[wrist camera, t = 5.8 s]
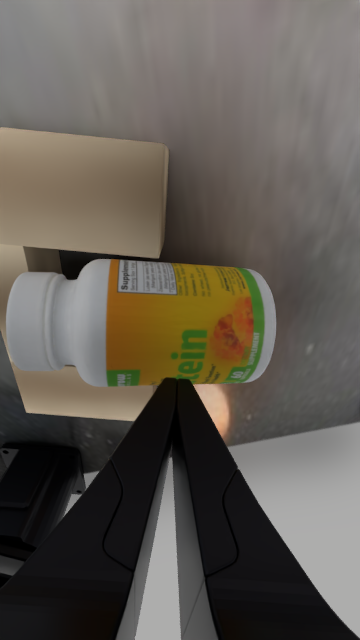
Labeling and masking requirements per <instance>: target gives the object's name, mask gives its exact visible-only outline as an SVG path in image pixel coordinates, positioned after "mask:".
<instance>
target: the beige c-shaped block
mask: <svg viewBox="0 0 360 640" xmlns="http://www.w3.org/2000/svg"><path fill="white" fill-rule="evenodd" d="M168 165H169V149H168V148H167V147H166V146H165V145H164V143H154V142H144V141H134V140H124V139H114V138H104V137H94V136H84V135H74V134H64V133H54V132H44V131H34V130H24V129H14V128H4V127H0V330H1V333H2V336H3V340H4V343H5V346H6V349H7V352H8V356H9V359H10V362H11V365H12V368H13V372H14V375H15V378H16V381H17V384H18V388H19V391H20V394H21V397H22V400H23V403H24V407H25V410H26V413H38V414H50V415H63V416H76V417H88V418H101V419H113V420H126V421H135V420H136V418H137V417H138V415H139V414H140V412H141V411H142V410H143V408H144V407H145V405H146V404H147V402H148V401H149V399H150V398H151V396H152V395H153V394H154V392H155V391H156V387H157V385H147V386H118V387H97V386H92V385H90V384H88V383H86V382H85V381H84V380H83V379H82V378H81V377H80V375H79V373H78V371H77V368H76V366H74V365H65V366H64V367H63V369H61V370H54V371H23V370H20V369H19V368H18V367H17V366H16V365H15V364H14V362H13V361H12V358H11V356H10V353H9V348H8V344H7V336H6V312H7V304H8V299H9V295H10V291H11V288H12V286H13V284H14V282H15V280H16V279H17V277H18V276H19V275H20V274H22V273H25V272H55V273H57V274H62V269H61V262H60V256H59V249H60V250H71V251H82V252H92V253H103V254H114V255H125V256H136V257H147V258H158V259H159V256H160V253H161V250H162V247H163V244H164V239H165V221H166V202H167V183H168Z"/></svg>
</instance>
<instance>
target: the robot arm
mask: <svg viewBox="0 0 360 640" xmlns="http://www.w3.org/2000/svg"><path fill="white" fill-rule="evenodd" d="M171 446H172V460H173V481H174V500H175V522H176V543H177V563H178V584H179V604H180V626H181V640H360V638H359V637H358V636H357V635H356V634H355V633H353V632H352V631H351V630H350V629H349V628H348V627H347V625H345V624H344V622H343V621H342V620H341V619H340V618H339V617H338V616H337V615H336V613H335V612H334V611H333V610H332V609H331V608H330V606H329V605H328V604H327V602H326V601H325V600H324V599H323V597H322V596H321V595H320V593H319V592H318V590H317V589H316V588H315V586H314V585H313V583H312V582H311V580H310V579H309V578H308V576H307V575H306V573H305V572H304V570H303V569H302V567H301V566H300V564H299V563H298V561H297V560H296V558H295V557H294V555H293V554H292V552H291V551H290V550H289V548H288V547H287V545H286V544H285V542H284V541H283V539H282V538H281V536H280V535H279V533H278V532H277V530H276V529H275V528H274V526H273V525H272V523H271V521H270V520H269V518H268V517H267V515H266V514H265V512H264V511H263V509H262V508H261V506H260V505H259V503H258V501H257V500H256V498H255V496H254V495H253V493H252V491H251V489H250V488H249V486H248V484H247V483H246V481H245V479H244V477H243V475H242V473H241V472H240V470H239V469H238V466H237V464H236V463H235V461H234V459H233V457H232V455H231V454H230V452H229V450H228V448H227V446H226V444H225V443H224V441H223V439H222V437H221V435H220V433H219V432H218V430H217V428H216V426H215V424H214V422H213V421H212V419H211V417H210V415H209V413H208V411H207V410H206V408H205V406H204V404H203V402H202V400H201V399H200V397H199V395H198V393H197V391H196V390H195V388H194V386H193V384H192V382H191V381H190V380H189V379H184V378H179V379H178V380H177V379H176V378H172V377H165V378H164V379H163V381H162V382H161V383H160V385H159V386H158V388H157V389H156V391H155V392H154V394H153V395H152V396H151V398H150V399H149V401H148V402H147V404H146V405H145V407H144V408H143V410H142V411H141V412H140V414H139V415H138V417H137V418H136V420H135V421H134V423H133V424H132V425H131V427H130V428H129V430H128V431H127V433H126V434H125V436H124V437H123V439H122V440H121V441H120V443H119V444H118V446H117V447H116V449H115V450H114V452H113V453H112V454H111V456H110V459H108V460H107V462H106V463H105V464H104V466H103V467H102V469H101V470H100V472H99V473H98V474H97V476H96V477H95V479H94V480H93V481H92V483H91V484H90V485H89V487H88V488H87V489H86V486H85V480H84V475H83V469H82V464H81V458H80V453H79V451H77V450H75V449H66V448H53V447H40V446H27V445H14V444H4V445H3V446H2V447H1V449H0V453H1V456H2V458H3V460H4V462H5V465H6V467H7V470H6V471H5V473H4V475H3V476H2V478H1V480H0V640H135V635H136V630H137V625H138V619H139V615H140V609H141V604H142V599H143V593H144V588H145V583H146V577H147V572H148V567H149V562H150V557H151V551H152V547H153V541H154V536H155V530H156V526H157V520H158V515H159V510H160V505H161V499H162V494H163V489H164V483H165V478H166V473H167V468H168V463H169V458H170V452H171ZM85 489H86V491H85ZM71 494H82V496H81V497H80V498H79V499H78V500H77V502H76V503H75V504H74V505H73V507H72V508H71V509H70V510H69V511H68V513H67V514H66V515H65V516H64V514H65V511H66V508H67V505H68V502H69V500H70V497H71ZM63 516H64V517H63Z"/></svg>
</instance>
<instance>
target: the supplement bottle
mask: <svg viewBox="0 0 360 640" xmlns="http://www.w3.org/2000/svg"><path fill="white" fill-rule="evenodd" d="M6 336H7V344H8V348H9V353H10V356H11V358H12V361H13V362H14V364H15V365H16V366H17V367H18V368H19V369H20V370H23V371H54V370H61V369H63V367H64V366H65V365H74V366H76V368H77V371H78V373H79V375H80V377H81V378H82V379H83V380H84V381H85V382H86V383H88V384H90V385H92V386H97V387H118V386H147V385H160V383H161V382H162V381H163V379H164V378H165V377H172V378H176V379H177V380H178V379H179V378H184V379H189V380H190V381H191V382H192V384H228V383H246V382H251V381H253V380H255V379H257V378H258V377H260V376H261V375H262V374H263V372H264V371H265V369H266V367H267V365H268V364H269V361H270V359H271V356H272V352H273V349H274V343H275V337H276V310H275V303H274V299H273V295H272V292H271V290H270V288H269V286H268V284H267V282H266V281H265V279H264V278H263V277H262V276H261V275H260V274H259V273H258V272H256V271H254V270H251V269H246V268H238V267H223V266H209V265H194V264H179V263H163V262H147V261H132V260H118V259H97V260H94V261H91V262H89V263H88V264H87V265H86V266H85V267H84V268H83V269H82V270H81V272H80V274H79V277H78V279H76V280H67V278H66V277H65V276H64V275H63V274H57V273H55V272H25V273H22V274H20V275H19V276H18V277H17V279H16V280H15V282H14V284H13V286H12V288H11V291H10V295H9V299H8V304H7V312H6Z"/></svg>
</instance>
